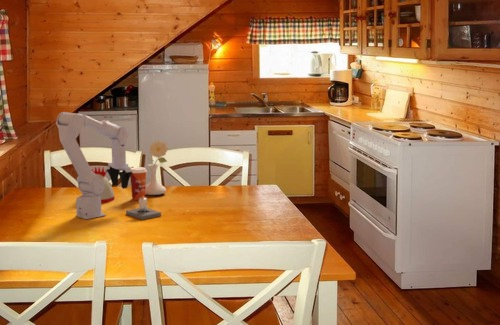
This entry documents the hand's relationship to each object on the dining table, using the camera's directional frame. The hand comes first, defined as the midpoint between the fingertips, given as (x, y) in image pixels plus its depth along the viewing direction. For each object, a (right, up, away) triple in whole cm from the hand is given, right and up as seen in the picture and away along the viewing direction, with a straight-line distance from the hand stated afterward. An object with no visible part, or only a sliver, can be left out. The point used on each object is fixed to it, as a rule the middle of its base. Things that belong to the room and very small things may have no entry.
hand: (119, 186), depth 292 cm
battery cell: (+11, -11, -9) cm, 19 cm away
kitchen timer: (-13, -7, +17) cm, 22 cm away
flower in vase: (+11, -5, +28) cm, 30 cm away
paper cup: (+5, -6, +18) cm, 20 cm away
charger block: (+11, -11, -9) cm, 19 cm away
